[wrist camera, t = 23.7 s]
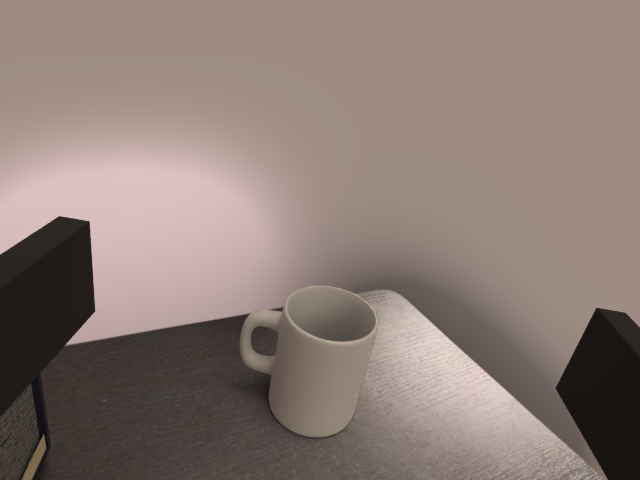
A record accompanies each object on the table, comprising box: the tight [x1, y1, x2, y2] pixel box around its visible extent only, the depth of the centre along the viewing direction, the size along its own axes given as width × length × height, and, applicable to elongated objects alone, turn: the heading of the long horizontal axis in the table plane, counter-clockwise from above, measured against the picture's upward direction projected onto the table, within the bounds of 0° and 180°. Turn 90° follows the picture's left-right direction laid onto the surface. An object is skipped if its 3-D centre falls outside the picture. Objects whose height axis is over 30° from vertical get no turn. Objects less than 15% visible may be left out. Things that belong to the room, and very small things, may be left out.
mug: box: [240, 286, 378, 438], centre depth 42 cm, size 12×8×11 cm
